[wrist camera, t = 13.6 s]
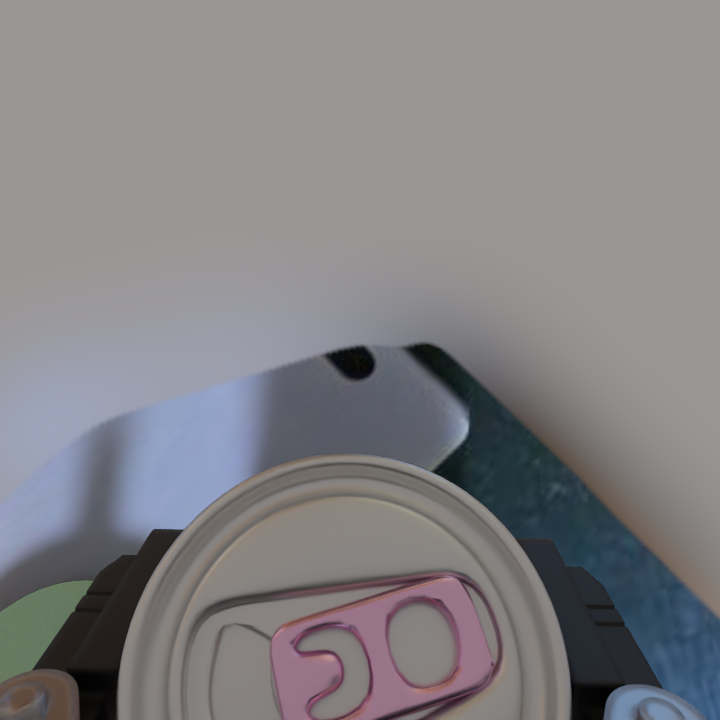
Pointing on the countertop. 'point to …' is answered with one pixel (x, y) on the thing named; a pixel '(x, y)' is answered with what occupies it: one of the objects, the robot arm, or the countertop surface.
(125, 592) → the robot arm
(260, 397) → the countertop surface
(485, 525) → the beverage can
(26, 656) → the pot lid
